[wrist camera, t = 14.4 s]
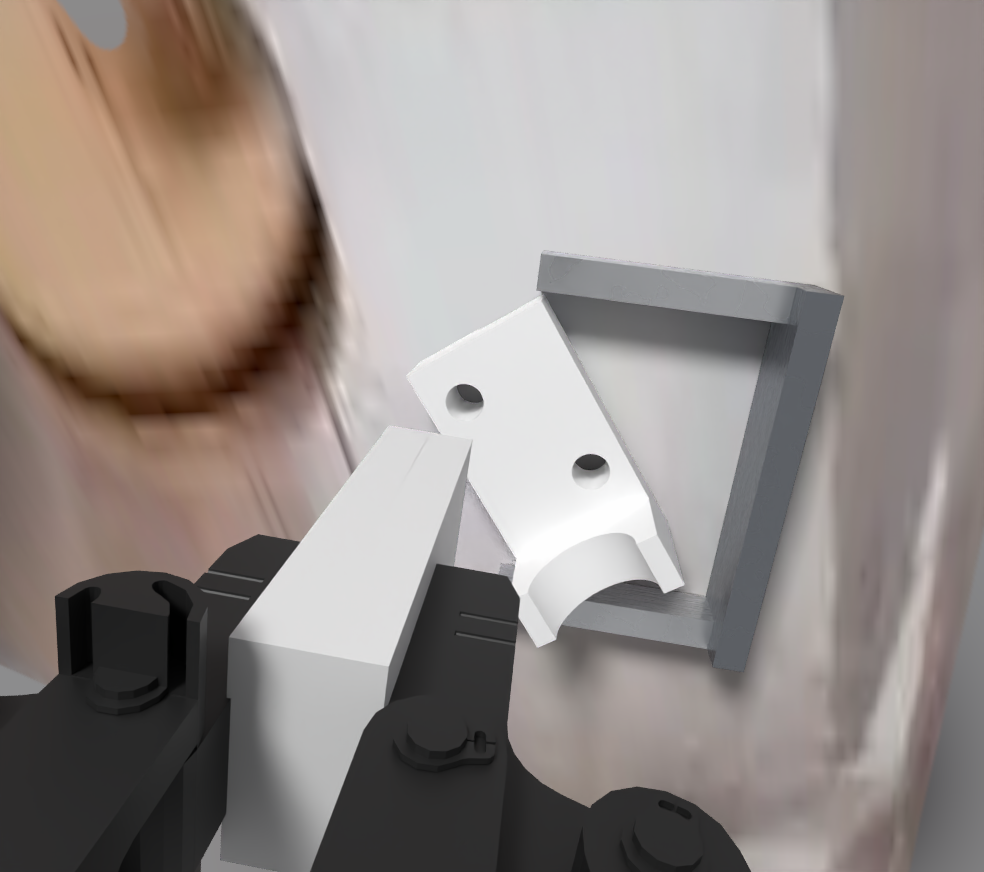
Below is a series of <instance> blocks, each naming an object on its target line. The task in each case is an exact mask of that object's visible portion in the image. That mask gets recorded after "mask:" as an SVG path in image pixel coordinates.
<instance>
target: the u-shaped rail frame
mask: <svg viewBox="0 0 984 872" xmlns="http://www.w3.org/2000/svg"><path fill="white" fill-rule="evenodd" d="M536 291H544V292H551V293H559V294H566V295H574V296H581V297H589V298H596V299H604V300H611V301H619V302H626V303H634V304H641V305H649V306H656V307H664V308H671V309H679V310H686V311H693V312H701V313H708V314H716V315H723V316H731V317H738V318H746V319H753V320H761V321H768V322H771V326H770V330H769V335H768V339H767V343H766V347H765V351H764V355H763V360H762V364H761V368H760V372H759V376H758V381H757V385H756V389H755V393H754V397H753V401H752V406H751V410H750V414H749V418H748V422H747V427H746V431H745V435H744V439H743V443H742V447H741V452H740V456H739V460H738V464H737V468H736V473H735V477H734V481H733V485H732V489H731V493H730V498H729V502H728V506H727V510H726V514H725V519H724V523H723V527H722V531H721V535H720V539H719V544H718V548H717V552H716V556H715V560H714V565H713V569H712V573H711V577H710V581H709V585H708V590H707V594H706V596H701V595H695V594H688V593H682V592H676V591H669V592H667V593H665V594H664V593H663V591H662V589H657V588H651V587H645V586H639V585H632V584H626V583H617V584H614V585H612V586H609V587H607V588H604V589H602V590H600V591H598V592H597V593H595V594H593V595H592V596H590V597H588V598H587V599H586V600H584V601H583V602H582V603H580V604H579V605H578V606H577V607H576V608H575V609H574V610H573V611H572V612H571V613H570V614H569V615H568V616H567V617H566V618H565V620H564V621H563V623H562V624H561V625H565V626H571V627H577V628H583V629H589V630H595V631H601V632H607V633H613V634H619V635H625V636H631V637H637V638H643V639H649V640H655V641H661V642H667V643H673V644H679V645H685V646H691V647H697V648H703V649H707V650H708V653H709V657H710V660H711V664H712V667H716V668H722V669H728V670H734V671H740V672H744V669H745V665H746V661H747V658H748V654H749V650H750V646H751V643H752V639H753V635H754V631H755V628H756V624H757V620H758V616H759V613H760V609H761V605H762V601H763V598H764V594H765V590H766V587H767V583H768V579H769V575H770V572H771V568H772V564H773V560H774V557H775V553H776V549H777V545H778V542H779V538H780V534H781V530H782V527H783V523H784V519H785V516H786V512H787V508H788V504H789V501H790V497H791V493H792V489H793V486H794V482H795V478H796V474H797V471H798V467H799V463H800V459H801V456H802V452H803V448H804V445H805V441H806V437H807V433H808V430H809V426H810V422H811V418H812V415H813V411H814V407H815V403H816V400H817V396H818V392H819V388H820V385H821V381H822V377H823V374H824V370H825V366H826V362H827V359H828V355H829V351H830V347H831V344H832V340H833V336H834V332H835V329H836V325H837V321H838V317H839V314H840V310H841V306H842V303H843V299H844V296H843V295H840V294H837V293H835V292H832V291H829V290H826V289H824V288H821V287H818V286H815V285H809V284H801V283H793V282H786V281H778V280H770V279H762V278H755V277H747V276H739V275H731V274H724V273H716V272H708V271H701V270H693V269H685V268H677V267H670V266H662V265H654V264H647V263H639V262H631V261H623V260H616V259H608V258H600V257H593V256H585V255H577V254H569V253H562V252H554V251H546V250H544V251H543V252H542V254H541V260H540V267H539V275H538V282H537V289H536ZM514 569H515V566H514V565H508V564H502V563H501V567H500V571H499V575H503V576H508V578H509V580H510V581H511V583H512V580H513V575H514ZM518 618H519V617H518Z"/></svg>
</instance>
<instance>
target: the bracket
mask: <svg viewBox="0 0 984 872" xmlns="http://www.w3.org/2000/svg"><path fill="white" fill-rule="evenodd" d="M406 377H407V379H408V381H409V382H410V384H411V386H412V387H413V389H414V391H415V392H416V394H417V396H418V397H419V399H420V401H421V402H422V404H423V406H424V407H425V409H426V411H427V412H428V414H429V415H430V417H431V419H432V420H433V422H434V424H435V425H436V427H437V429H438V430H439V432H440V434H443V435H449V436H455V437H461V438H466V439H472V440H473V441H472V447H471V454H470V461H469V468H468V474H467V478H468V480H469V482H470V483H471V485H472V487H473V488H474V490H475V492H476V493H477V495H478V497H479V498H480V500H481V502H482V503H483V505H484V506H485V508H486V510H487V511H488V513H489V515H490V516H491V518H492V520H493V521H494V523H495V525H496V526H497V528H498V530H499V531H500V533H501V535H502V536H503V538H504V540H505V541H506V543H507V545H508V546H509V548H510V550H511V551H512V553H513V554H514V556H515V558H516V563H515V569H514V575H513V580H512V585H513V587H514V588H515V590H516V592H517V594H518V595H519V597H520V607H519V616H518V617H519V619H520V620H521V622H522V624H523V625H524V627H525V628H526V630H527V632H528V633H529V635H530V637H531V638H532V640H533V641H534V643H535V645H536V646H537V648H538V647H540V646H543V645H545V644H547V643H550V642H552V641H554V640H556V637H557V633H558V630H559V628H560V626H561V624H562V623H563V621H564V620H565V618H566V617H567V616H568V615H569V614H570V613H571V612H572V611H573V610H574V609H575V608H576V607H577V606H578V605H579V604H580V603H582V602H583V601H584V600H586V599H587V598H588V597H590V596H592V595H593V594H595V593H597V592H598V591H600V590H602V589H604V588H607V587H609V586H612V585H614V584H617V583H620V582H624V581H629V580H649V581H653V582H655V583H657V584H658V585H659V586H660V587H661V589H662V591H663V593H664V594H665V593H667V592H669V591H672V590H674V589H676V588H679V587H681V586H683V585H685V584H684V581H683V577H682V573H681V570H680V566H679V562H678V559H677V555H676V551H675V548H674V544H673V540H672V537H671V533H670V529H669V526H668V522H667V519H666V518H665V516H664V514H663V512H662V510H661V508H660V506H659V505H658V503H657V501H656V499H655V497H654V495H653V494H652V492H651V490H650V488H649V486H648V484H647V483H646V481H645V479H644V477H643V475H642V473H641V472H640V470H639V468H638V466H637V464H636V462H635V460H634V459H633V457H632V455H631V453H630V451H629V449H628V448H627V446H626V444H625V442H624V440H623V438H622V437H621V435H620V433H619V431H618V429H617V427H616V426H615V424H614V422H613V420H612V418H611V416H610V414H609V413H608V411H607V409H606V407H605V405H604V403H603V402H602V400H601V398H600V396H599V394H598V392H597V391H596V389H595V387H594V385H593V383H592V381H591V379H590V378H589V376H588V374H587V372H586V370H585V368H584V367H583V365H582V363H581V361H580V359H579V357H578V356H577V354H576V352H575V350H574V348H573V346H572V345H571V343H570V341H569V339H568V337H567V335H566V333H565V332H564V330H563V328H562V326H561V324H560V322H559V321H558V319H557V317H556V315H555V313H554V311H553V310H552V308H551V306H550V304H549V302H548V300H547V299H546V297H545V295H544V294H543V295H541V296H539V297H537V298H536V299H534V300H532V301H530V302H529V303H527V304H525V305H523V306H521V307H520V308H518V309H516V310H514V311H512V312H511V313H509V314H507V315H505V316H504V317H502V318H500V319H498V320H496V321H495V322H493V323H491V324H489V325H487V326H486V327H484V328H480V329H478V330H476V331H474V332H473V333H471V334H469V335H467V336H465V337H464V338H462V339H460V340H458V341H457V342H455V343H453V344H451V345H449V346H448V347H446V348H444V349H442V350H441V351H439V352H437V353H435V354H433V355H432V356H430V357H428V358H426V359H424V360H423V361H421V362H420V363H419V364H418V365H417V366H416V367H415V368H414V369H413V370H412V371H411V372H410V373H409V374H408V375H407V376H406ZM460 384H468V385H471V386H473V387H475V388H476V389H478V390H479V392H480V393H481V395H482V397H483V401H481V402H478V403H472V402H468V401H466V400H465V399H463V398H462V397H461V396H460V394H459V392H458V390H457V385H460ZM586 454H596V455H599V456H601V457H602V458H604V459H605V460H606V462H605V464H604V465H603V466H602V467H600V468H598V469H596V470H584V469H582V468H580V467H579V466H578V465H577V464H576V463H575V461H576V460H577V459H578V458H579V457H581V456H583V455H586Z"/></svg>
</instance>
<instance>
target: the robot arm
mask: <svg viewBox="0 0 984 872" xmlns="http://www.w3.org/2000/svg"><path fill="white" fill-rule="evenodd" d="M472 441H473V440H472V439H466V438H461V437H455V436H449V435H443V434H437V433H431V432H426V431H420V430H414V429H408V428H402V427H397V426H391V425H389V426H388V427H387V429H386V430H385V431H384V433H383V434H382V435H381V437H380V438H379V439H378V441H377V442H376V443H375V444H374V446H373V447H372V448H371V450H370V451H369V452H368V454H367V455H366V456H365V458H364V459H363V460H362V462H361V463H360V464H359V466H358V467H357V468H356V470H355V471H354V472H353V474H352V475H351V476H350V478H349V479H348V480H347V482H346V483H345V484H344V485H343V487H342V488H341V489H340V491H339V492H338V493H337V495H336V496H335V497H334V499H333V500H332V501H331V503H330V504H329V505H328V507H327V508H326V509H325V511H324V512H323V513H322V515H321V516H320V517H319V519H318V520H317V521H316V522H315V524H314V525H313V526H312V528H311V529H310V530H309V532H308V533H307V534H306V536H305V537H304V538H303V540H302V541H301V542H298V541H293V540H287V539H281V538H276V537H270V536H265V535H259V534H258V535H256V536H254V537H251V538H249V539H247V540H245V541H243V542H241V543H239V544H236V545H234V546H232V547H230V548H228V549H227V550H226V551H225V552H224V553H223V554H222V555H221V556H220V557H219V558H218V559H217V560H216V561H215V563H214V564H213V565H212V566H211V567H210V568H209V570H208V573H204V574H203V575H202V576H201V577H200V578H199V579H198V580H197V581H196V583H195V584H193V583H192V582H191V581H189V580H187V579H184V578H181V577H178V576H174V575H171V574H168V573H163V572H149V571H130V572H121V573H112V574H105V575H102V576H99V577H96V578H92V579H89V580H86V581H82V582H79V583H77V584H75V585H73V586H72V587H70V588H68V589H66V590H65V591H63V592H61V593H59V594H58V595H56V596H55V608H56V628H57V648H58V668H59V674H58V675H57V676H56V677H55V678H54V679H53V680H52V681H51V682H50V683H49V684H48V685H47V686H46V687H45V688H44V689H43V690H41V691H40V692H39V693H38V694H29V695H18V696H0V872H201V871H200V870H201V859H202V857H203V856H204V853H205V852H206V850H207V848H208V846H209V844H210V843H211V841H212V839H213V837H214V835H215V833H216V831H217V830H218V828H219V826H220V824H221V822H222V829H221V854H220V857H221V858H220V860H222V861H227V862H232V863H237V864H242V865H247V866H252V867H257V868H262V869H267V870H272V871H277V872H751V871H750V869H749V867H748V865H747V863H746V861H745V859H744V857H743V855H742V854H741V852H740V850H739V849H738V847H737V846H736V845H735V843H734V842H733V841H732V839H731V838H730V837H729V835H728V834H727V832H726V831H725V830H724V828H723V827H722V826H721V825H720V824H719V823H718V822H717V821H715V820H714V819H713V818H712V817H710V816H709V815H708V814H706V813H705V812H704V811H703V810H701V809H700V808H699V807H698V806H696V805H695V804H693V803H691V802H689V801H686V800H684V799H682V798H680V797H677V796H675V795H673V794H671V793H669V792H666V791H661V790H655V789H648V788H642V787H632V788H626V789H621V790H615V791H611V792H609V793H608V794H606V795H605V796H604V797H602V798H601V799H599V800H598V801H596V802H595V803H594V804H592V806H591V808H588V807H586V806H584V805H582V804H580V803H578V802H576V801H574V800H572V799H569V798H567V797H565V796H563V795H561V794H559V793H558V792H556V791H554V790H553V789H551V788H549V787H547V786H546V785H544V784H542V783H541V782H540V781H539V780H538V779H536V778H535V777H534V776H533V775H532V774H531V773H530V772H528V771H527V770H526V769H525V768H524V766H523V765H522V764H521V762H520V761H519V759H518V758H517V757H516V755H515V754H514V752H513V749H512V747H511V744H510V742H509V739H508V730H507V720H508V711H509V701H510V692H511V682H512V673H513V663H514V654H515V643H516V635H517V624H518V616H519V607H520V597H519V595H518V594H517V592H516V590H515V588H514V587H513V585H512V583H511V581H510V580H509V578H508V576H503V575H498V574H492V573H486V572H481V571H475V570H470V569H464V568H458V567H454V562H455V555H456V548H457V542H458V535H459V528H460V521H461V515H462V508H463V501H464V495H465V488H466V481H467V474H468V468H469V461H470V454H471V447H472Z"/></svg>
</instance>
